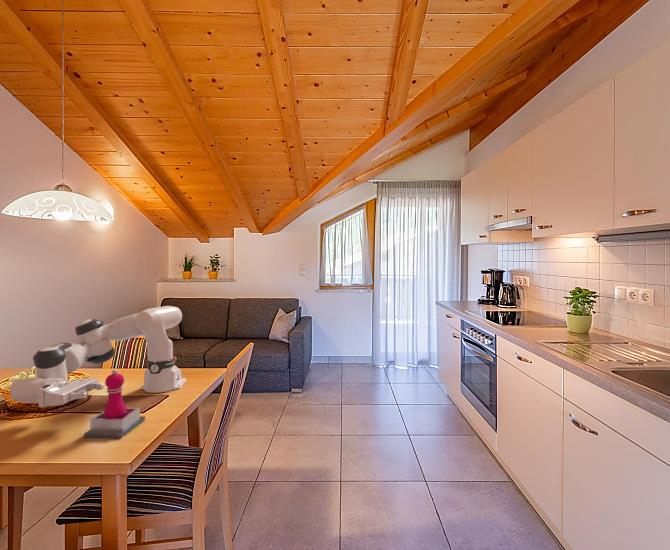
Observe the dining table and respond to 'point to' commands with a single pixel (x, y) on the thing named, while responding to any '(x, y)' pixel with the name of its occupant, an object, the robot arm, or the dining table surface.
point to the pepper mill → (115, 397)
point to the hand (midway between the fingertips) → (94, 391)
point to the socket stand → (114, 425)
